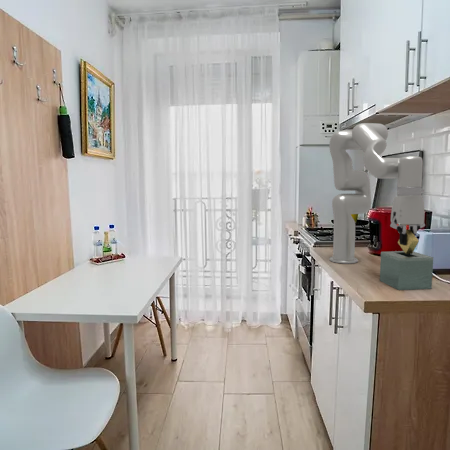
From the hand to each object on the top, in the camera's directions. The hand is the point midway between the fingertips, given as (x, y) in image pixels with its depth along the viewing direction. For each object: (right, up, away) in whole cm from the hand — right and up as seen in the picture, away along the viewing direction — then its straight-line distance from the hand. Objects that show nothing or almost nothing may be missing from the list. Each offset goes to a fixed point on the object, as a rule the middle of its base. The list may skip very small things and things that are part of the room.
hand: (406, 244), depth 124 cm
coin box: (0, -15, +2) cm, 15 cm away
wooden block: (0, -1, -3) cm, 3 cm away
